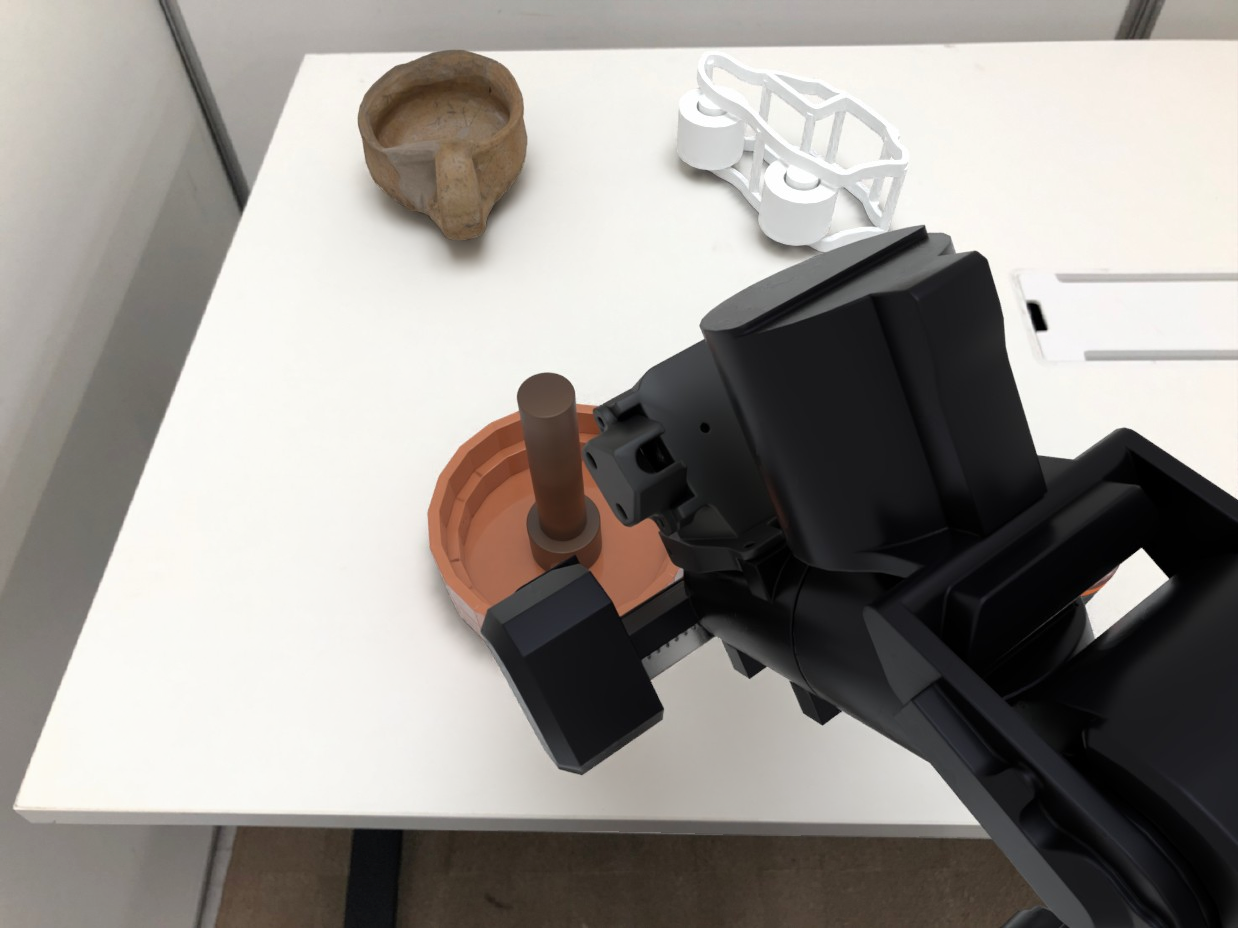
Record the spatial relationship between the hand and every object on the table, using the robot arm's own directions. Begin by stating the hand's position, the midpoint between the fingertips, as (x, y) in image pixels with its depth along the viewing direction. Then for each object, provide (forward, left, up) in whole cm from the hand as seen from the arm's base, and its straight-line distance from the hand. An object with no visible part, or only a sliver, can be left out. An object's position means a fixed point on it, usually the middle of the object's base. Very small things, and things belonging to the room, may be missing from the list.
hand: (644, 520), depth 39 cm
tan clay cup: (+42, +8, -14) cm, 45 cm away
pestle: (+7, +4, -13) cm, 15 cm away
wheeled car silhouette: (+38, -18, -14) cm, 44 cm away
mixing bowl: (+7, +4, -14) cm, 16 cm away
